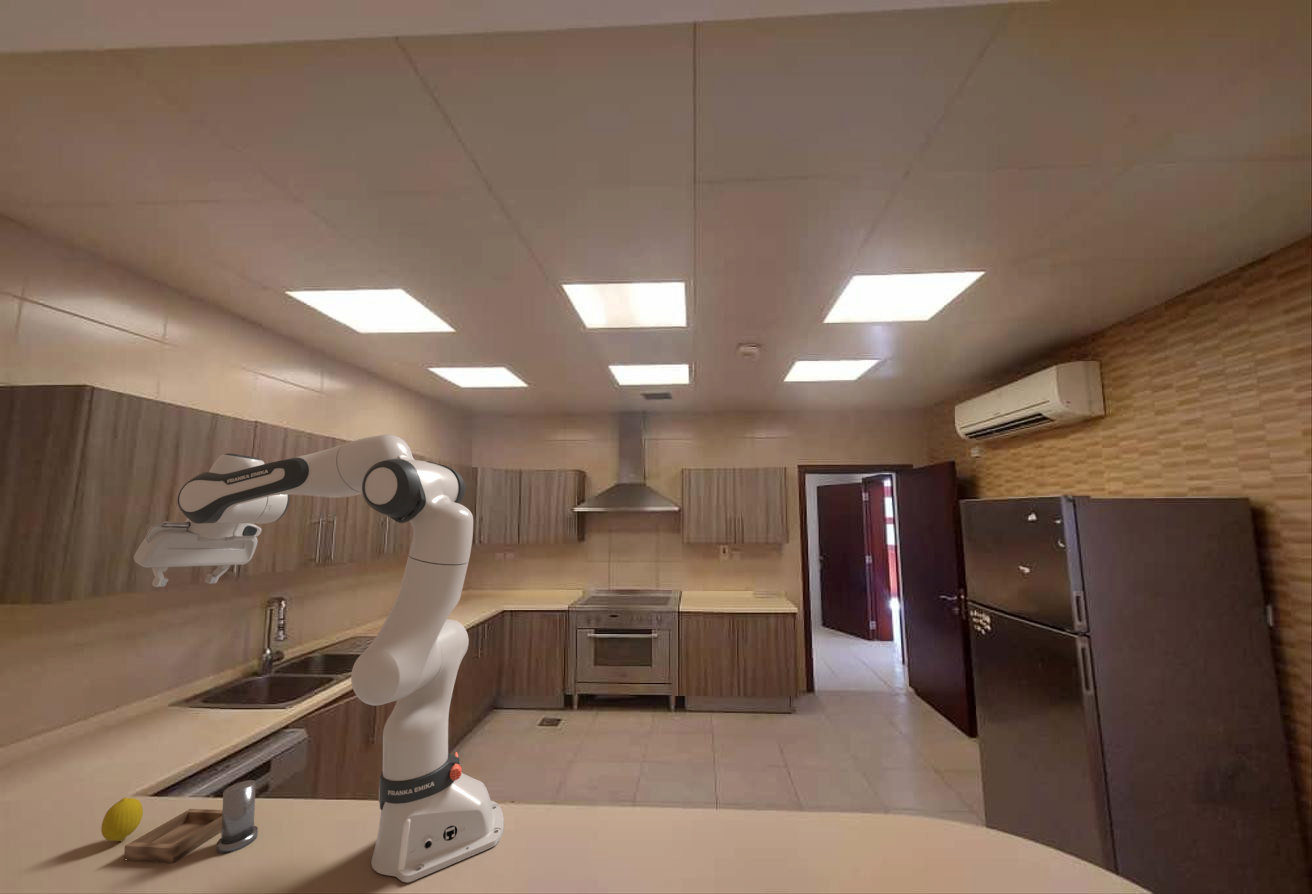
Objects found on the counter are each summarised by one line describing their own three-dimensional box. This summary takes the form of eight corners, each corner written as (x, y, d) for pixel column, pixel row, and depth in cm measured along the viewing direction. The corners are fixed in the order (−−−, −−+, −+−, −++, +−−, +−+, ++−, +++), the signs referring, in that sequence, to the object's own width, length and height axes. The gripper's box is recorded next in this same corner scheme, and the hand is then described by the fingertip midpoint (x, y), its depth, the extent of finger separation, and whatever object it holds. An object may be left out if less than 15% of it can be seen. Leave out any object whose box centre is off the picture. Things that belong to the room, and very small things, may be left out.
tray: (234, 823, 98) (234, 810, 99) (172, 863, 88) (173, 848, 88) (189, 821, 100) (190, 808, 100) (123, 860, 89) (124, 845, 90)
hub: (262, 828, 96) (264, 775, 97) (249, 847, 91) (252, 790, 92) (225, 837, 94) (227, 783, 95) (209, 857, 88) (212, 799, 90)
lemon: (95, 846, 94) (98, 802, 95) (135, 829, 99) (138, 787, 100) (105, 854, 91) (108, 809, 92) (146, 836, 96) (148, 793, 97)
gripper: (163, 526, 94) (131, 594, 92) (269, 529, 113) (244, 586, 111) (144, 515, 95) (113, 582, 94) (252, 521, 115) (227, 576, 113)
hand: (185, 584), depth 103 cm, fingers open, 8 cm apart
